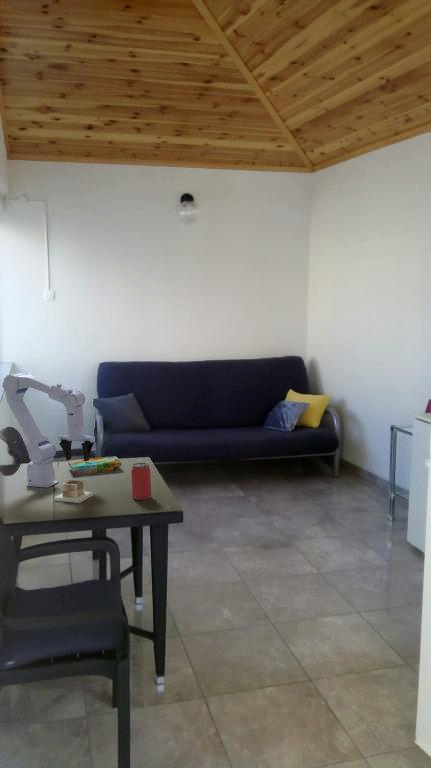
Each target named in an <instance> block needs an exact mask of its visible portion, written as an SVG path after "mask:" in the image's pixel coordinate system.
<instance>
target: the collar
mask: <svg viewBox="0 0 431 768" xmlns="http://www.w3.org/2000/svg"><path fill="white" fill-rule="evenodd" d="M61 488H62V489H61V490H62V491H61V492H62V493H61V494H63V496H64V497H75V498H77V497H79V496H80V495H82V494H84V493H85V492H86V490H85V489H86V488H85V481H84V480H80V479H79V480H77V479H69V480H67V481H65V482H63V483H61Z"/></svg>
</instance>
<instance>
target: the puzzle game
mask: <svg viewBox="0 0 431 768" xmlns="http://www.w3.org/2000/svg"><path fill="white" fill-rule="evenodd" d="M67 461H68V463H67V464H68V467H69V468H70V470H71V471H72V473H73V474H74V476H80V475H91V474H99V473H109V471H110V472H113V471H114V468H117V467H121V466H122V464H123V463H122V461H121V460H120V459H119V458H118V457H117V456H105V457H95V458H94V457H93V458H90V457H89V460H88V461H84V458H83V459H73V460H72V459H70V460H67Z"/></svg>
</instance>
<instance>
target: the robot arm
mask: <svg viewBox="0 0 431 768" xmlns="http://www.w3.org/2000/svg"><path fill="white" fill-rule="evenodd" d="M1 385H2V386H1V387H2V388H3V390H4V392H5V397H6V398H5V399H6V403H7V404H8V406H9V408H10V409H11V411H12V413H13V415H14V417H15V419H16V421H17V423H18V424H19V426H20V428H21V430H22V432H23V433H24V436H25V437H26V440H27V441H28V442H27V446H26V449H27V451H28V456H29V459H30V462H28V464H27V467H26V477H27V478H26V479H27V484H26V486H27V487H38V488H49V487H51V486H54V485H56V484H58V483H59V482H60V481H59V480H55V476H54V472H55V471H54V458H55V456H56V453H57V448H56V445H55V444H54V443H52V442H51V440H50V439H49V438H48V437H47V436H45V435H43V434H42V432H41V430H40V429H39V426H38V425H37V423H36V421H35V419H34V418H33V416H32V414H31V412H30V410H29V408H28V407H27V404H26V403H25V400H24V397H25V394H26V393H27V391H28V390H29V389H30V388H31V389H34V390H37V391H39V392H42V393H45V394H47V395H48V398H49V399H51V400H53V401H56V402H58V403H60V404H62V405H63V406H64V407H65V409H66V414H67V415H66V417H67V432H68V433H67V434H59V435H57V439H58V440H57V441H58V442H59V446H60V448H61V450H63V453H64V456H65V459H66V461H70V460H72V444H73V442H82V443H81V446H82V452H83V459H84V461H88V460H89V458H90V455H91V451H92V449H93V446H94V444H95V442H96V436H93V435H85V428H84V408H83V405H84V404H85V402H86V396H85V395H84V393H82V392H81V391H80V390H74V391H73V389H72V388H67V387H64V386H63V385H62V384H61V383H55V384H53V385H52V384H49V383H47V382H45V381H43V380H41V379H39V378H37V377H35V376H34V375H33V374H30V373H27V372H25V371H24V372H20V373H15V374H8V375H6V376H5V377H4V379H3V382H2V384H1Z"/></svg>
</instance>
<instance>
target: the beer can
mask: <svg viewBox="0 0 431 768" xmlns="http://www.w3.org/2000/svg"><path fill="white" fill-rule="evenodd" d="M130 471H131V492H132V495H131V496H132V498H133V499H134V500H137V501H145V500H148V499H150V498H151V497H152V481H151V480H152V479H151V469H150V465H149V463H147V462H137V463H133V464H132V467H131V470H130Z"/></svg>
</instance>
